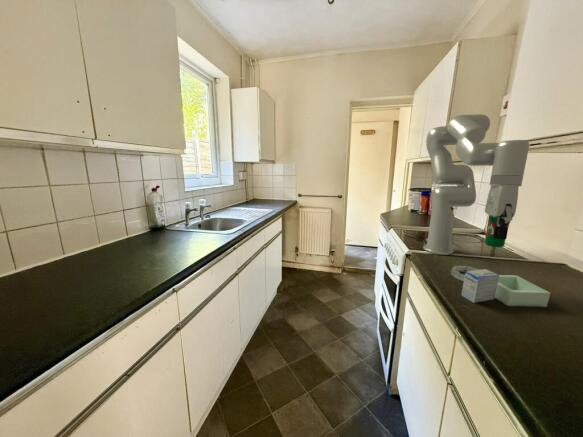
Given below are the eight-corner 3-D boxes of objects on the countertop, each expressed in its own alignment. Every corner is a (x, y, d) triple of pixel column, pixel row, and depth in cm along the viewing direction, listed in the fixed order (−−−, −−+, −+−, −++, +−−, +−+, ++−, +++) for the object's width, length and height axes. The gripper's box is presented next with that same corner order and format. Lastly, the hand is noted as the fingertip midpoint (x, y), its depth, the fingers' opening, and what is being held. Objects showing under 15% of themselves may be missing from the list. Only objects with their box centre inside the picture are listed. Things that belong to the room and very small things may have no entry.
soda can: (502, 244, 78) (508, 210, 75) (505, 248, 74) (512, 212, 71) (483, 242, 81) (488, 208, 78) (485, 246, 76) (491, 210, 74)
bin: (480, 287, 79) (482, 274, 78) (513, 287, 79) (516, 275, 78) (507, 306, 68) (511, 292, 67) (546, 306, 68) (550, 292, 67)
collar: (445, 270, 92) (446, 265, 91) (473, 270, 91) (474, 266, 91) (464, 283, 81) (465, 278, 81) (496, 284, 81) (497, 279, 80)
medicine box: (480, 292, 76) (485, 268, 74) (494, 300, 71) (500, 274, 69) (460, 295, 74) (465, 270, 72) (474, 303, 70) (479, 277, 68)
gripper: (481, 180, 82) (473, 229, 86) (501, 182, 67) (491, 242, 70) (508, 180, 79) (499, 231, 83) (536, 182, 64) (523, 245, 67)
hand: (495, 235), depth 76 cm, fingers closed on soda can, 5 cm apart
